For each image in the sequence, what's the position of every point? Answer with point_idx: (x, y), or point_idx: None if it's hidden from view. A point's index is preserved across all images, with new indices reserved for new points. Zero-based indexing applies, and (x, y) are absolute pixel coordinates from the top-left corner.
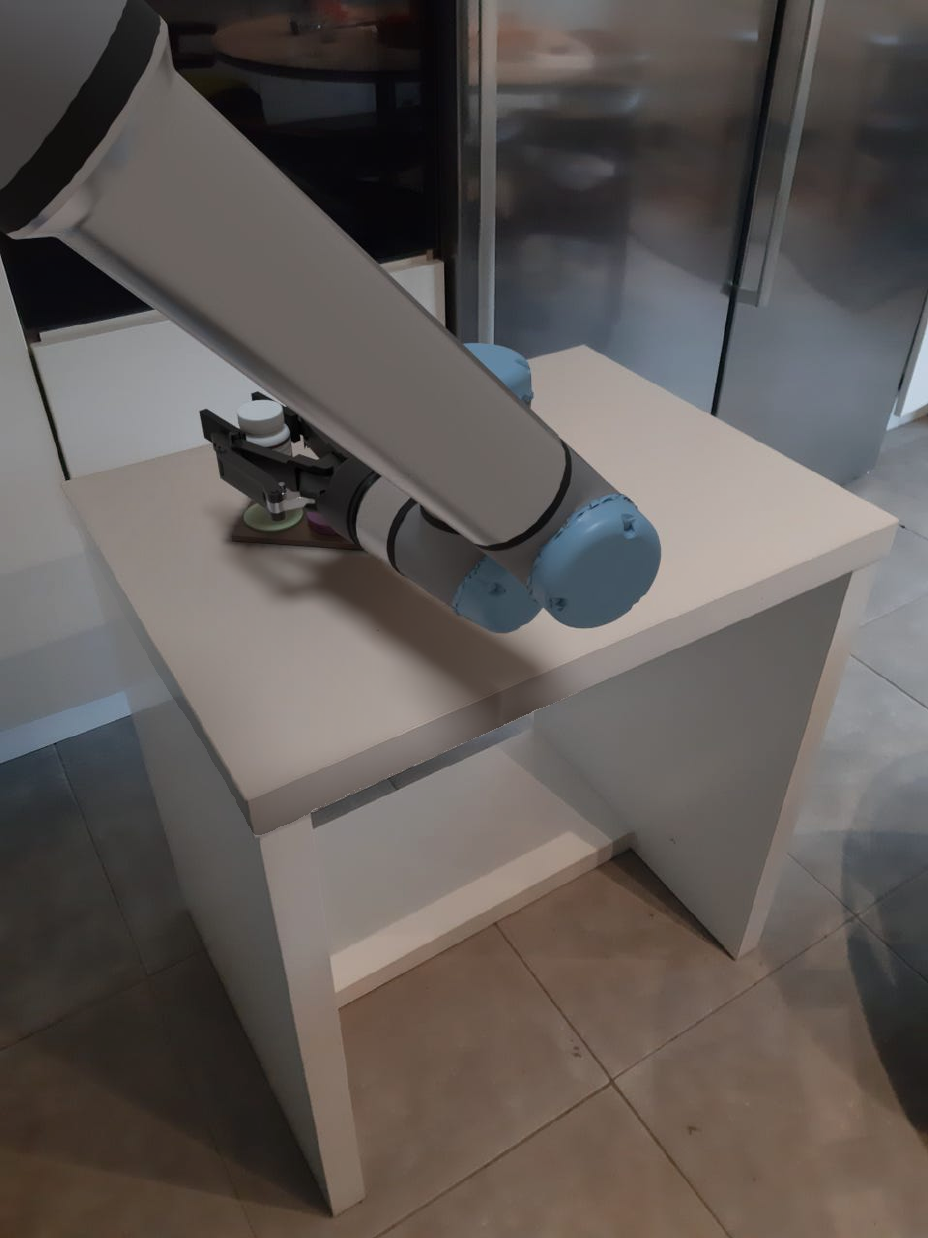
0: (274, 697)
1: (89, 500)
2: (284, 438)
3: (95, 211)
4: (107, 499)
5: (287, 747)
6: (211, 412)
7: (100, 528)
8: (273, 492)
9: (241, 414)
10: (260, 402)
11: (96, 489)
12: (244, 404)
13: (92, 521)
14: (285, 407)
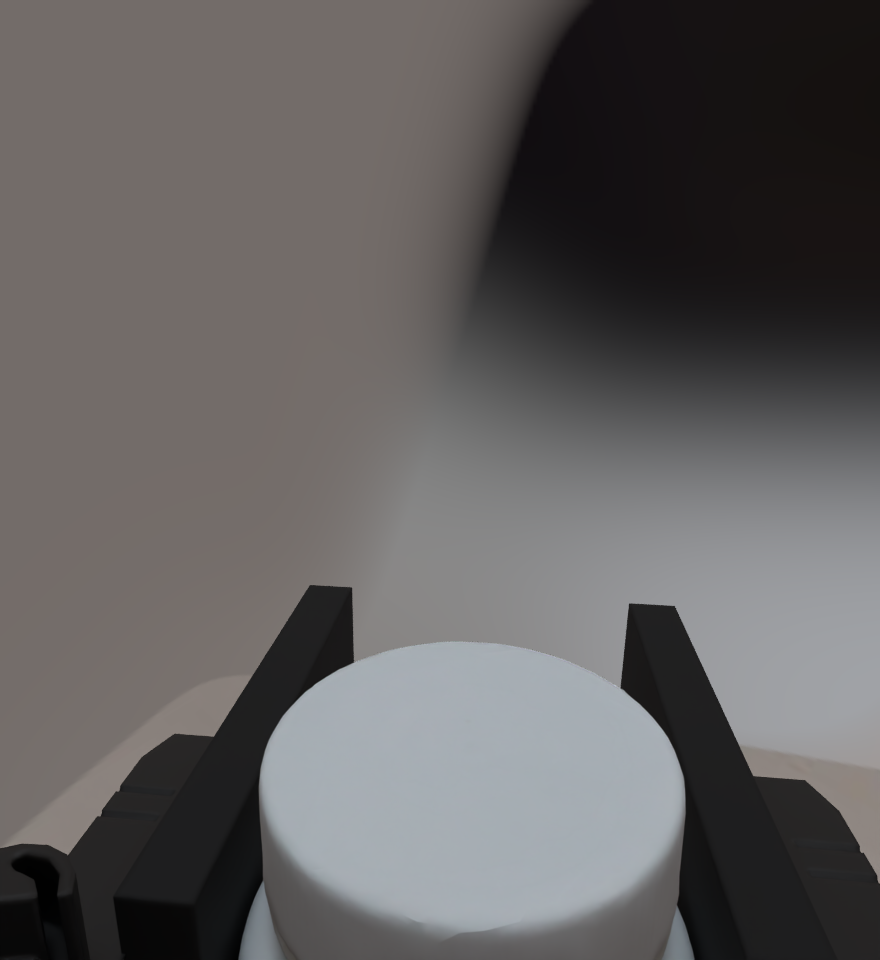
0: None
1: (178, 714)
2: None
3: None
4: (204, 734)
5: None
6: (332, 614)
7: (43, 824)
8: None
9: (304, 717)
10: (552, 684)
11: (233, 693)
12: (439, 648)
13: (76, 784)
14: (759, 809)
